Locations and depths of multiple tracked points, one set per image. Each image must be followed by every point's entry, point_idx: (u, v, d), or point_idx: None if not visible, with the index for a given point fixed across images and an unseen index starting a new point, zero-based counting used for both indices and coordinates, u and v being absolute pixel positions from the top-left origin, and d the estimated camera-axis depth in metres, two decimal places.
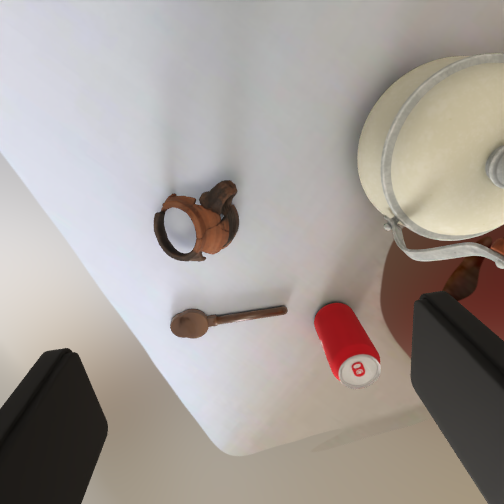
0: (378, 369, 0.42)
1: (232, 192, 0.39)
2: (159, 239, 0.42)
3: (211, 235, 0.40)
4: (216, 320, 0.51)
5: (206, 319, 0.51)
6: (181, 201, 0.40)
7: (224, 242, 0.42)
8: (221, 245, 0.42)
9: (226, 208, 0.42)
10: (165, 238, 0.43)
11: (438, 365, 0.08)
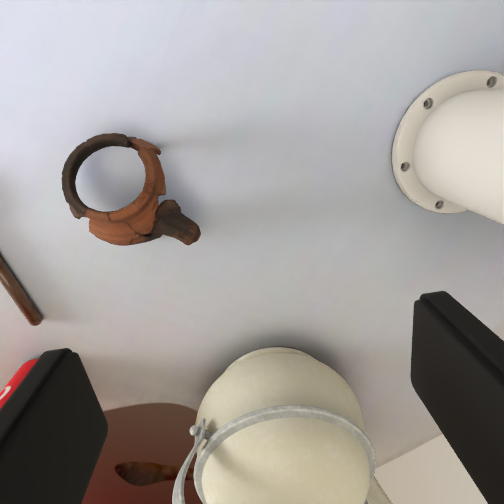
0: None
1: (187, 243, 0.29)
2: (85, 146, 0.27)
3: (118, 229, 0.28)
4: None
5: None
6: (156, 177, 0.27)
7: (112, 242, 0.30)
8: (107, 240, 0.29)
9: None
10: (90, 153, 0.28)
11: (438, 365, 0.08)
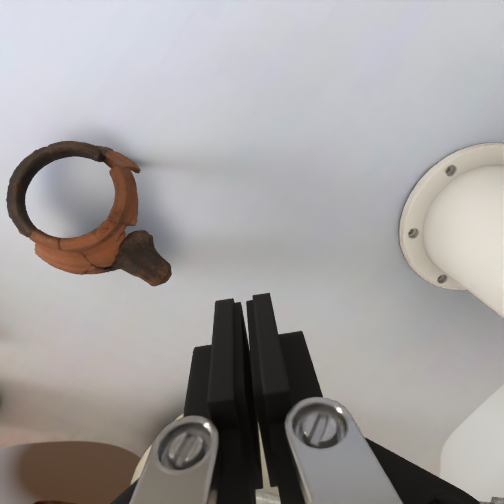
0: None
1: (152, 284, 0.25)
2: (45, 152, 0.22)
3: (71, 258, 0.23)
4: None
5: None
6: (127, 204, 0.23)
7: (62, 269, 0.24)
8: (55, 266, 0.24)
9: None
10: (51, 161, 0.23)
11: None
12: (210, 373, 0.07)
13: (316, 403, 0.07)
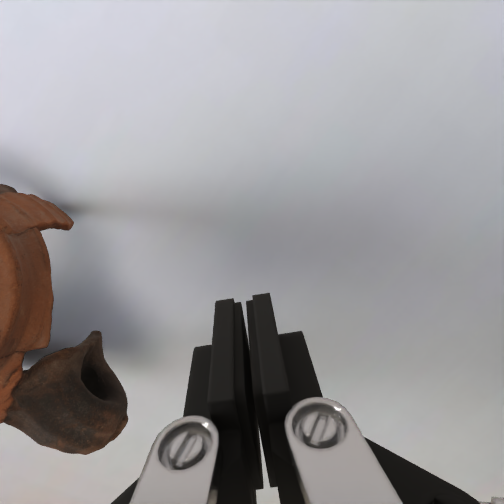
0: None
1: None
2: None
3: None
4: None
5: None
6: (21, 314, 0.11)
7: None
8: None
9: None
10: None
11: None
12: (210, 373, 0.07)
13: (316, 403, 0.07)
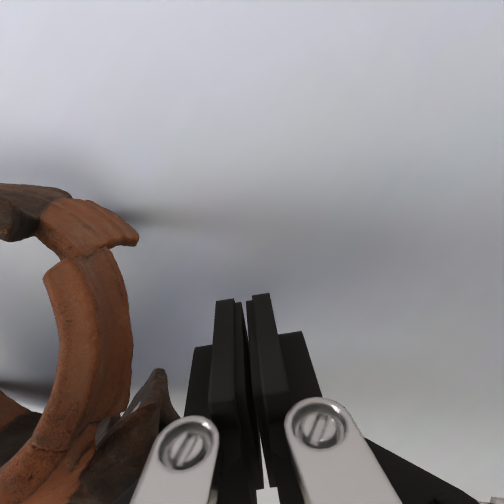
0: None
1: None
2: None
3: None
4: None
5: None
6: (100, 372, 0.07)
7: None
8: None
9: None
10: None
11: None
12: (211, 373, 0.07)
13: (315, 403, 0.07)
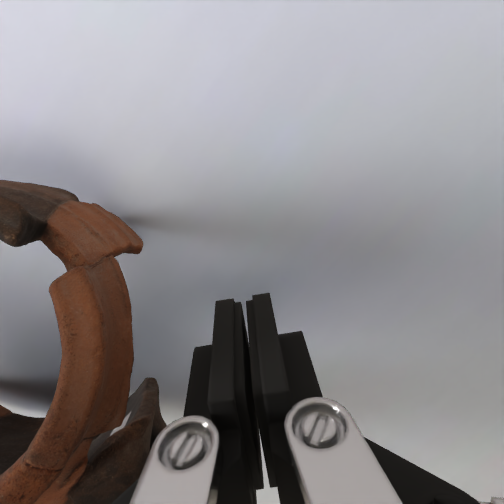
0: None
1: None
2: None
3: None
4: None
5: None
6: (100, 388, 0.07)
7: None
8: None
9: None
10: None
11: None
12: (210, 373, 0.07)
13: (316, 403, 0.07)
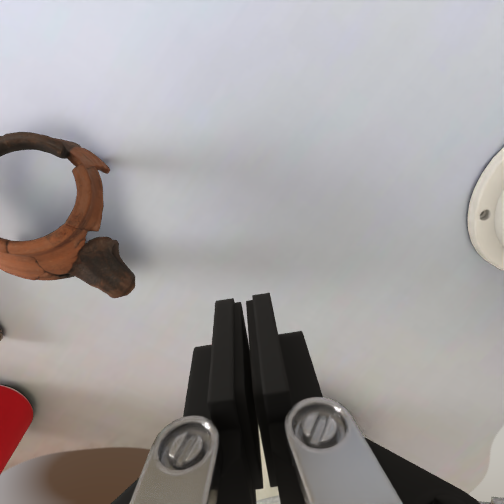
0: None
1: (113, 296, 0.23)
2: (0, 143, 0.20)
3: (20, 263, 0.20)
4: None
5: None
6: (90, 208, 0.20)
7: (11, 273, 0.22)
8: (3, 270, 0.21)
9: None
10: (6, 152, 0.20)
11: None
12: (210, 373, 0.07)
13: (316, 403, 0.07)
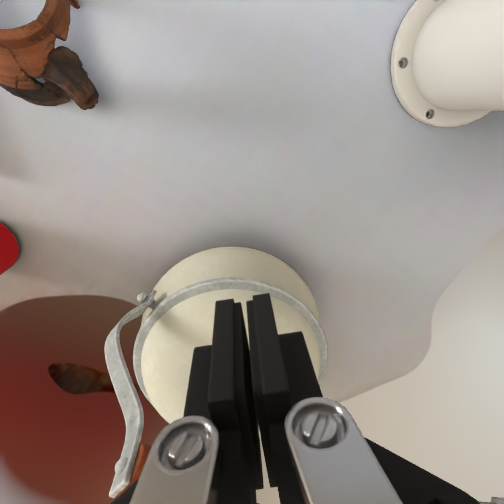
0: None
1: (78, 102, 0.27)
2: None
3: (1, 56, 0.25)
4: None
5: None
6: (58, 14, 0.25)
7: None
8: None
9: (57, 90, 0.29)
10: None
11: None
12: (210, 373, 0.07)
13: (316, 403, 0.07)
